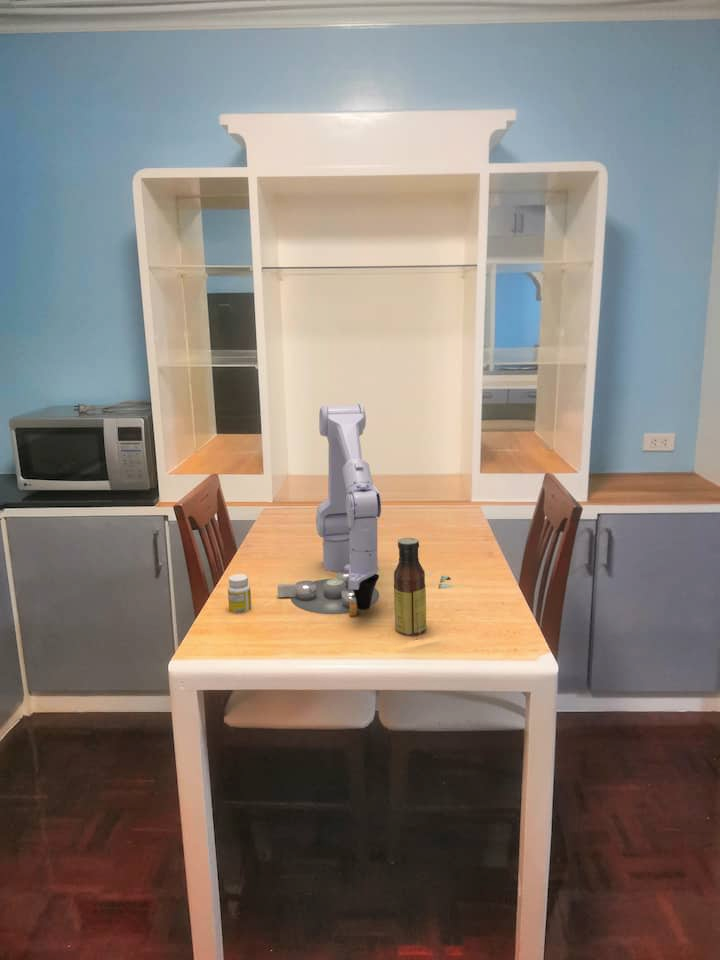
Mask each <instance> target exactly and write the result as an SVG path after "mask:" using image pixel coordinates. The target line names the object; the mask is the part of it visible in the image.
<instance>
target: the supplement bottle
mask: <svg viewBox="0 0 720 960" xmlns="http://www.w3.org/2000/svg"><path fill="white" fill-rule="evenodd" d="M251 592H252V591H251V585H250V583H249V577H248V575H247V574H245V573H236V574H232V575H230V576H229V577H228V587H227V597H228V610H229V612H230V613H233V614H245V613H248V612H250V610H252V597H251V596H252V595H251Z"/></svg>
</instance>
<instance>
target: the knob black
mask: <svg viewBox="0 0 720 960" xmlns="http://www.w3.org/2000/svg"><path fill="white" fill-rule="evenodd" d="M349 578H350V576H349V571H346V570H345V569H343V570H339V571H337V572H336V579H340V580H343V581H345V582H346V588H349V586H348V580H349Z"/></svg>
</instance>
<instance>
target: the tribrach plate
mask: <svg viewBox="0 0 720 960" xmlns="http://www.w3.org/2000/svg"><path fill="white" fill-rule="evenodd" d="M312 581H313V582H315V583H316V597H315V598H314V599H311V600H299V599H297V598H296V597H289V598H290V601H291V603H292V604H293V605H294V606H295V607H296V608H298V609H301V610H303V611H306V612H309V613H314V614H318V615H319V614H320V615H321V614H322V615H345V614H349V608H347V607H344V606H343V605H342V590H343V589H346V582H345V581H343V580H340V579H337V578H323V579H318V580H312ZM379 598H380V592H379V591H378V589H377V588H376V586H375V587H374V590H373V594H372V599H371V604H370V607H372V606H374V605H375V604H376V603H377V602H378V601H379ZM360 611H362V610H361V609H359V608H358V607H357V612H360Z"/></svg>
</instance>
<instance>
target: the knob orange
mask: <svg viewBox="0 0 720 960" xmlns="http://www.w3.org/2000/svg"><path fill="white" fill-rule="evenodd" d="M342 605H343V606H344V607H347V608H349V613H348V614H349V616H350V617H351V616H357V613H358V611H357V607H358V605H357V601H356V597H355V594H354V591H353V589H349V588H346V589H343V590H342Z"/></svg>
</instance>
